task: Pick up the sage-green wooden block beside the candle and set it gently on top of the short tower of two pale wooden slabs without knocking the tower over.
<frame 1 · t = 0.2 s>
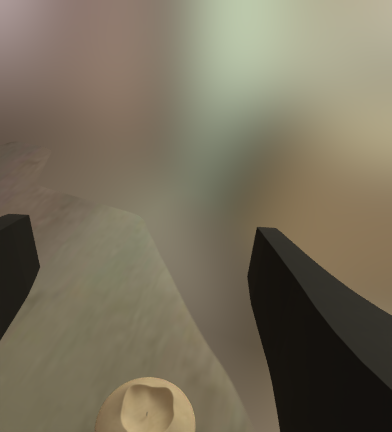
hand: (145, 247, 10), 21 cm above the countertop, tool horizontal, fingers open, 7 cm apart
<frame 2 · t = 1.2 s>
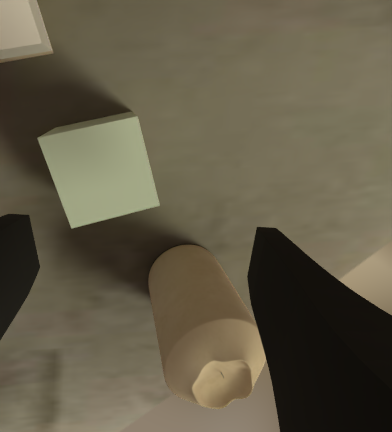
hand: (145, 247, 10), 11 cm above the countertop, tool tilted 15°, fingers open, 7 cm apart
sage block: (105, 156, 20), on the countertop
candle: (183, 275, 24), on the countertop
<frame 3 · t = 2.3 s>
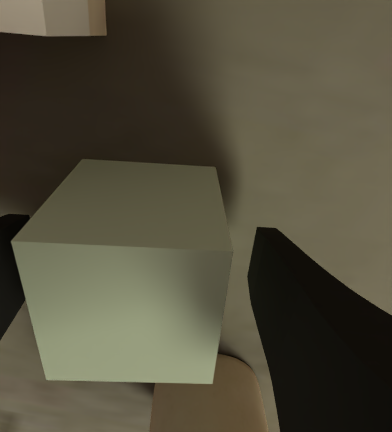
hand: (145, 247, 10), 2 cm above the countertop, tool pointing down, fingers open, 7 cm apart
sage block: (149, 219, 12), on the countertop
candle: (206, 382, 17), on the countertop
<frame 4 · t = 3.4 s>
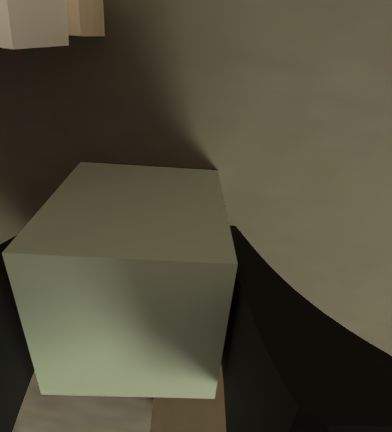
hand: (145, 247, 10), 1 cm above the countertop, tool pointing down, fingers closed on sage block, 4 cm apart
sage block: (149, 224, 12), on the countertop, touching gripper
candle: (207, 387, 17), on the countertop
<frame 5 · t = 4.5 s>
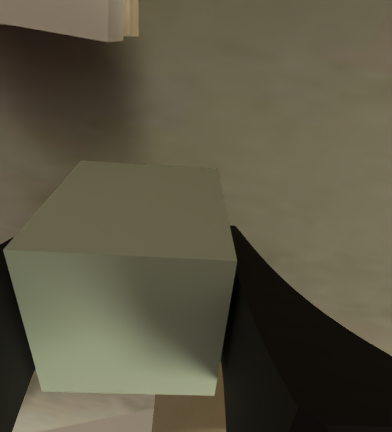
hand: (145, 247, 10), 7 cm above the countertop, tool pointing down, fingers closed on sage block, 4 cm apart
sage block: (149, 223, 12), point 5 cm above the countertop, touching gripper
candle: (204, 310, 21), on the countertop
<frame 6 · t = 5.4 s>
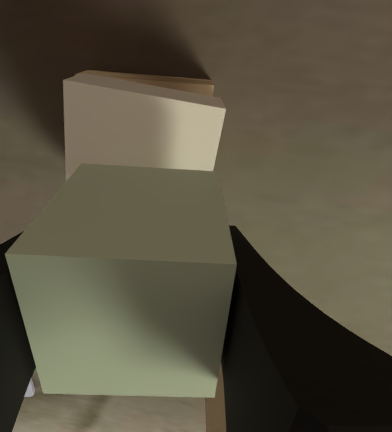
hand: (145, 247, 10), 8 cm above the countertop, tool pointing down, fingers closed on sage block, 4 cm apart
sage block: (150, 225, 12), point 7 cm above the countertop, touching gripper
candle: (236, 363, 27), on the countertop
tower top: (146, 151, 15), point 2 cm above the countertop
tower base: (150, 133, 17), on the countertop
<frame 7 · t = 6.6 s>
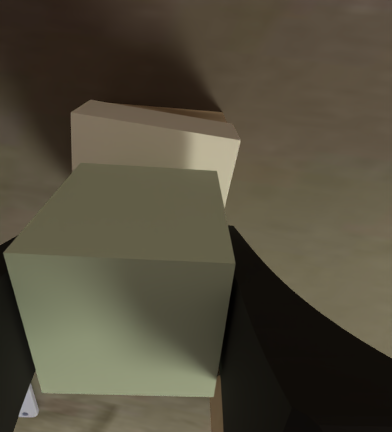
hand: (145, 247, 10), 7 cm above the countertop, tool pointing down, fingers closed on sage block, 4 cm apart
sage block: (149, 224, 12), point 6 cm above the countertop, touching gripper
candle: (241, 385, 27), on the countertop
tower top: (155, 177, 15), point 2 cm above the countertop, touching tower base
tower base: (159, 163, 17), on the countertop, touching tower top
when the fingers open (7 cm above the countertop, at t = 6.8 s): sage block drops 1 cm, resting on tower top.
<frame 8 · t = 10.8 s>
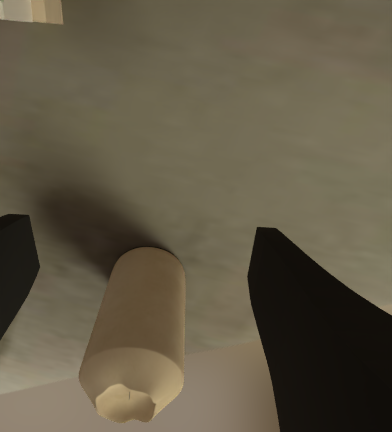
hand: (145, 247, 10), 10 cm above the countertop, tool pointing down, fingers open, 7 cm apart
candle: (149, 273, 24), on the countertop
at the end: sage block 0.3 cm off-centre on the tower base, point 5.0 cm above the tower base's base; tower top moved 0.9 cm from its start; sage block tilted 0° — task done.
